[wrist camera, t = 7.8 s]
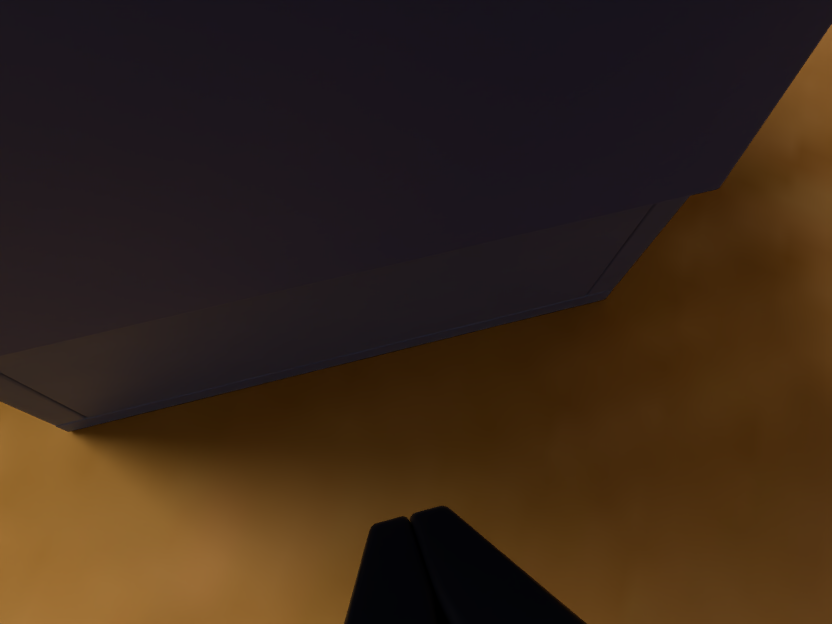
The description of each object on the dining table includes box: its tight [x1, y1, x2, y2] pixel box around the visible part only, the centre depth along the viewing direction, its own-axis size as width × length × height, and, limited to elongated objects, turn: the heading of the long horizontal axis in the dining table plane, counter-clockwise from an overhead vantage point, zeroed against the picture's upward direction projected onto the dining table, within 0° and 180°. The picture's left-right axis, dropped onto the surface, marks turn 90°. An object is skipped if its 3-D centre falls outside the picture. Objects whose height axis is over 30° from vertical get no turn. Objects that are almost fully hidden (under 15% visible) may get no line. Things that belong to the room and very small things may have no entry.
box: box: [0, 196, 689, 432], centre depth 19 cm, size 11×15×7 cm
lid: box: [0, 0, 832, 356], centre depth 9 cm, size 11×15×1 cm
